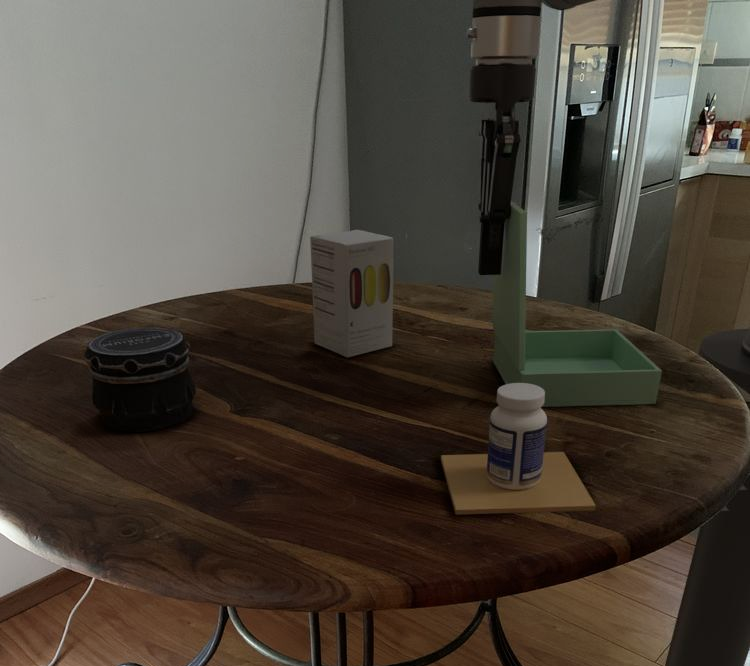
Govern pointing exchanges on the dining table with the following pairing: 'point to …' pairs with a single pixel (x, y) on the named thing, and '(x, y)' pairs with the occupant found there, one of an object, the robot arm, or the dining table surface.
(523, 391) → the pill bottle
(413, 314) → the dining table surface
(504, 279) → the chest lid
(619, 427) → the dining table surface
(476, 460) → the cork mat
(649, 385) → the chest
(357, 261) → the supplement box
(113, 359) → the container
